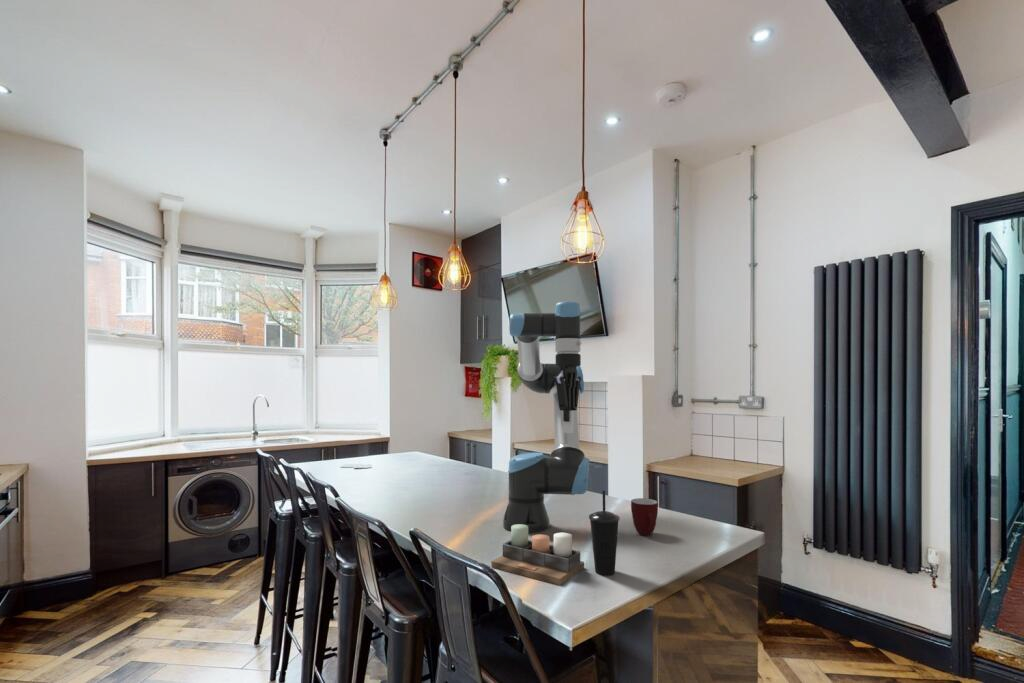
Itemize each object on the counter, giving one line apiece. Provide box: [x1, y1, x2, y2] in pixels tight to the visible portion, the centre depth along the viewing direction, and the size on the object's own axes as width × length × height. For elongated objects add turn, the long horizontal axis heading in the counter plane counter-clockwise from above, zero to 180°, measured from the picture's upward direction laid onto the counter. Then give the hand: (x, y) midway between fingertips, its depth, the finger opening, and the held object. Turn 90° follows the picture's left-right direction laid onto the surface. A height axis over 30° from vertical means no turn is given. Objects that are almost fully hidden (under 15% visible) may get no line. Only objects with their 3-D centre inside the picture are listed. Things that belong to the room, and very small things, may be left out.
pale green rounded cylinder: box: [510, 524, 529, 548], centre depth 134 cm, size 5×5×5 cm
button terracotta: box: [531, 533, 551, 553], centre depth 131 cm, size 5×5×5 cm
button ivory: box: [553, 532, 573, 558], centre depth 127 cm, size 5×5×5 cm
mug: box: [630, 497, 659, 537], centre depth 156 cm, size 11×8×10 cm
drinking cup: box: [588, 490, 621, 577], centre depth 127 cm, size 8×8×20 cm
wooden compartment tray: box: [490, 539, 585, 586], centre depth 129 cm, size 20×13×4 cm, turn 56°
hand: (568, 432), depth 149 cm, fingers closed
